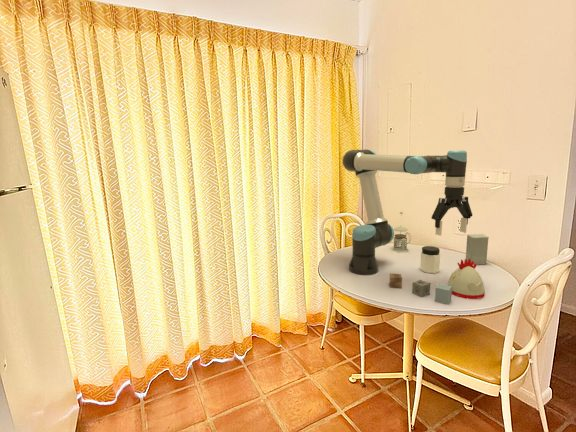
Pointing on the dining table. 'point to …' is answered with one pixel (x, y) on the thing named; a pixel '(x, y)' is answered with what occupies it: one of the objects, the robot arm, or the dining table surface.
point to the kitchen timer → (467, 281)
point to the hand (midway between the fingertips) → (450, 233)
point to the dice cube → (421, 288)
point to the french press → (400, 238)
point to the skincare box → (477, 248)
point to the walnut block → (395, 280)
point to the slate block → (443, 293)
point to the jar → (430, 259)
